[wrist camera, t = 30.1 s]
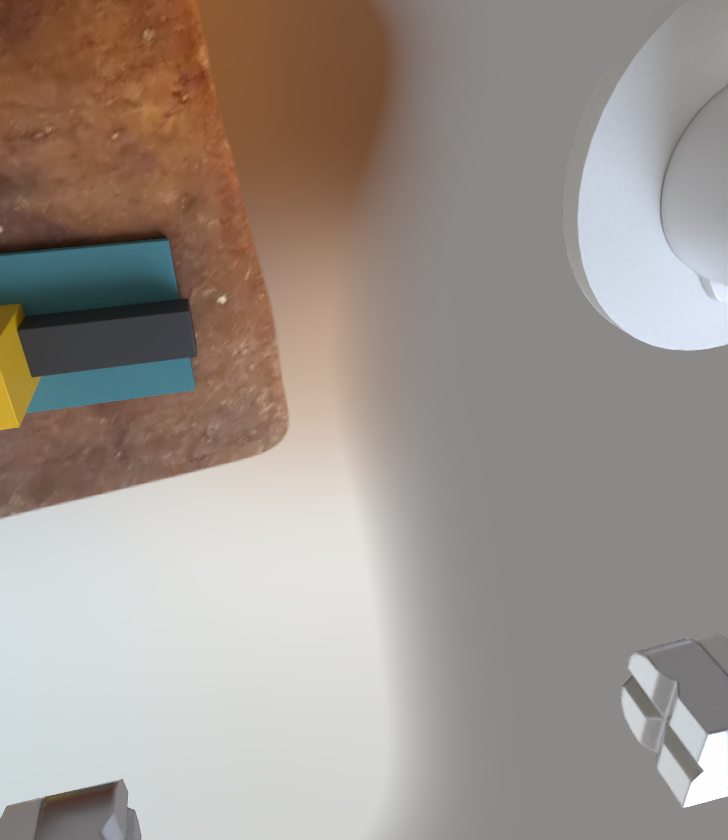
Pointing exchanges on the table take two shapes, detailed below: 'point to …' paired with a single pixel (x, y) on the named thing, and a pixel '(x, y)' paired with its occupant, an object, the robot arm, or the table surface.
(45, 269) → the mat
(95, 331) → the hammer
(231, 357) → the table surface
